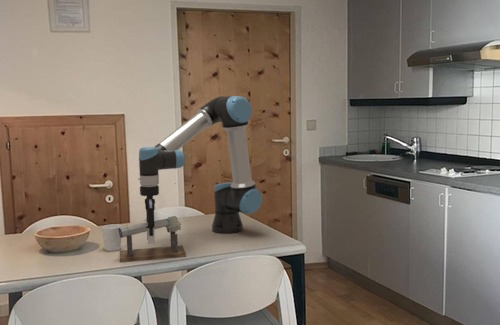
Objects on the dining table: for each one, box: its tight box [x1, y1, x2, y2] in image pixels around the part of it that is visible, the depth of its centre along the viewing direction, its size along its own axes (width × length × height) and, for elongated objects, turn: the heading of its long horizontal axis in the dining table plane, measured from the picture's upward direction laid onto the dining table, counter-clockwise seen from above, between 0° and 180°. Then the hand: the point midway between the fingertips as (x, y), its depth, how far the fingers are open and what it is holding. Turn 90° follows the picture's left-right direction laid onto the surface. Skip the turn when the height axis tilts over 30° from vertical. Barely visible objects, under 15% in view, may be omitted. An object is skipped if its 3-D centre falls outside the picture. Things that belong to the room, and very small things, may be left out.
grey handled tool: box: [119, 215, 182, 239], centre depth 225 cm, size 5×7×25 cm
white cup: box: [101, 223, 122, 252], centre depth 236 cm, size 8×8×10 cm
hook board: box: [119, 231, 187, 263], centre depth 226 cm, size 26×12×9 cm, turn 103°
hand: (150, 241), depth 225 cm, fingers closed on grey handled tool, 5 cm apart
